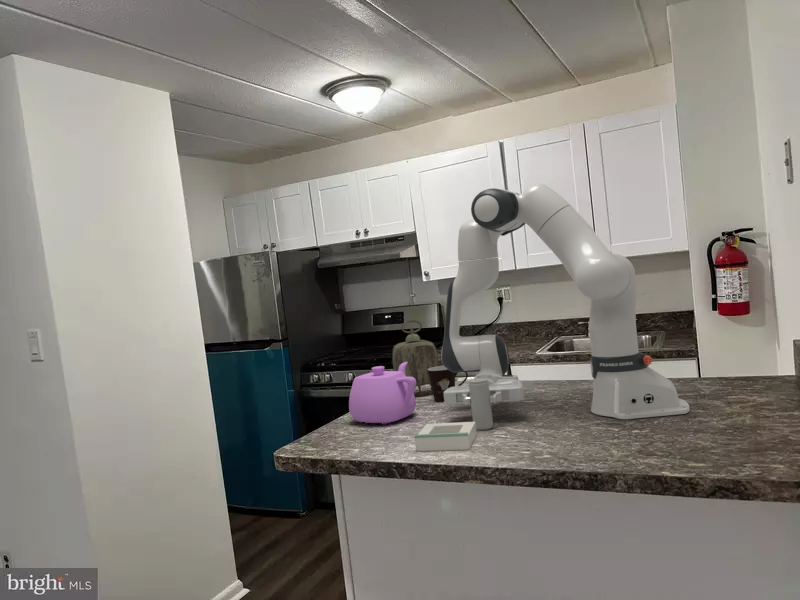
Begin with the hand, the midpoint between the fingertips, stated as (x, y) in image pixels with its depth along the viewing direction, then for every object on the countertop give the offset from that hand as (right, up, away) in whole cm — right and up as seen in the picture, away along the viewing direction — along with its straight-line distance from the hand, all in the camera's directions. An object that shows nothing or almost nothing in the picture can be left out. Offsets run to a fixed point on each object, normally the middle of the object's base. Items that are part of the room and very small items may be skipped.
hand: (479, 400), depth 142 cm
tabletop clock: (-13, -7, +52) cm, 54 cm away
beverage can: (+1, -7, +1) cm, 7 cm away
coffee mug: (-4, -7, +39) cm, 40 cm away
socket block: (-9, -8, -8) cm, 14 cm away
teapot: (-24, -9, +24) cm, 35 cm away
